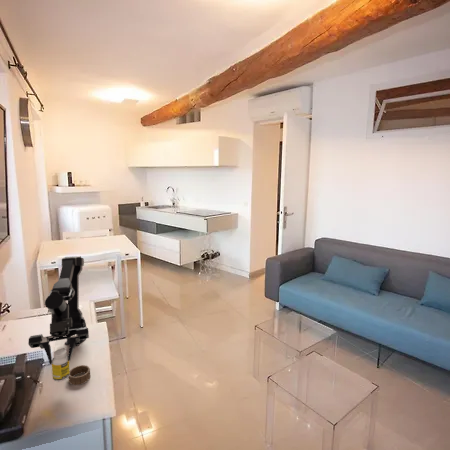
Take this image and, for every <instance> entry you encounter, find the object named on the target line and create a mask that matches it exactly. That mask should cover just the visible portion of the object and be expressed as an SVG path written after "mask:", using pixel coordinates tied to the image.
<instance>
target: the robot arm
mask: <svg viewBox="0 0 450 450" xmlns="http://www.w3.org/2000/svg"><path fill="white" fill-rule="evenodd" d="M84 265H85V260H84V258H83V257H82V256H81V255H78V256H77V255H75V256H74V255H73V256H65V257H63V258H61V269H60V273H59V276H58V277H59V278H58V281H56V282H55V283H53V286H52V289H50V291H49V293H48V295H47V297H46V299H45V300H44V305H45V307H46V308H47V310H48V311H49V313H50V314H51V316H50V317H51V321H50V323H49V335H47V336H43V334H42V333H40V334H34V335H30V336H29V337H28V343H27V344H28V346H29V348H31V349H35V348H40V349H41V350H42V349H43V350H44V351H45V354H46V357H47V360H48V362H49V363H48V364H49V365H52V359H53V358H52V348H51V347H52V346H51V344H50V342H55V341H62V340H66V341H64V344H65V345H68V346H69V347H68V354H67V355H68V360H69V362H71V359H72V355H73V352H74V350H75V348H76V347H77V346H79V345H80V344H82V343H83V342H84V341H85V340H87V339H89V338H90V336H89V335H90V333H89V332H90V330H89V328H88V327H87V322H86V320H85V317H83V312H82V311H81V309H80V306H79V301H80V299H79V298H80V297H79V293H80V291H79V289H80V287H79V285H80V284H79V283H80V282H79V281H80V279H79V277H80V274H81V272H82V271H83V267H84Z"/></svg>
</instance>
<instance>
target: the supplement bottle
mask: <svg viewBox="0 0 450 450" xmlns="http://www.w3.org/2000/svg"><path fill="white" fill-rule="evenodd" d="M67 352H68V351H67V350H66V349H65V348H59V349H56V350H55V351H54V352H53V358H52V364H51V374H52V375H51V376H52V380H53V381H54V382H56V383H59V382H64V381H66V380H67V379H69V375H70V370H71V369H70V361H69V360H68V354H67Z"/></svg>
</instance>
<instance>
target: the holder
mask: <svg viewBox="0 0 450 450" xmlns="http://www.w3.org/2000/svg"><path fill="white" fill-rule="evenodd" d="M79 374H82V375H80V376H78V375H79ZM76 375H77V376H76ZM90 378H91V368H90V366H88V365H84V364H83V365H76V366H75V367H73V368H71V369H70V375H69V377H68V382H69V384H70V385H72V386H78V385H82V384H85V383H87V382H88V381H89V380H90Z"/></svg>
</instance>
